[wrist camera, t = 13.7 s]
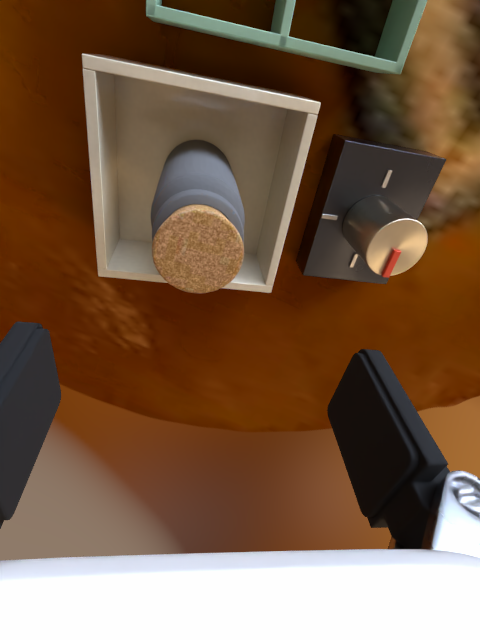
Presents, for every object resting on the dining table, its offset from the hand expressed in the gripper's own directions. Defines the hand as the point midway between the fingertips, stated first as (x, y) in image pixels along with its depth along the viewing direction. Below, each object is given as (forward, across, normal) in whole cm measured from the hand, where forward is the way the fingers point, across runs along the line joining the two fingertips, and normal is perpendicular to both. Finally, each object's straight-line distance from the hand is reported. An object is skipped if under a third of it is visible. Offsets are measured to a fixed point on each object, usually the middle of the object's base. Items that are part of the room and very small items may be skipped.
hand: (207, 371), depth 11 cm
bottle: (+24, +1, 0) cm, 24 cm away
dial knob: (+21, -15, +1) cm, 26 cm away
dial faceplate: (+24, -15, +2) cm, 28 cm away
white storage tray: (+24, +1, 0) cm, 24 cm away
